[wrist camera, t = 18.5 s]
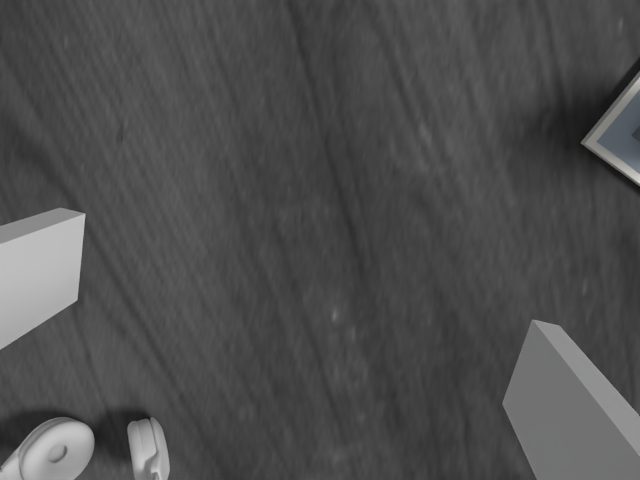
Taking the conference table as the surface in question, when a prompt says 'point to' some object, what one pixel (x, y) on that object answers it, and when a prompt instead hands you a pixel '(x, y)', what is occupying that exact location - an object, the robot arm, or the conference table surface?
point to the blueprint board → (620, 133)
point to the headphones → (83, 451)
